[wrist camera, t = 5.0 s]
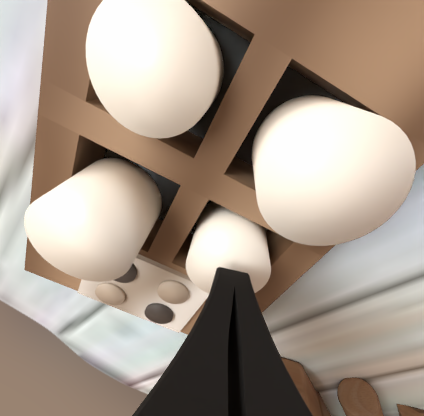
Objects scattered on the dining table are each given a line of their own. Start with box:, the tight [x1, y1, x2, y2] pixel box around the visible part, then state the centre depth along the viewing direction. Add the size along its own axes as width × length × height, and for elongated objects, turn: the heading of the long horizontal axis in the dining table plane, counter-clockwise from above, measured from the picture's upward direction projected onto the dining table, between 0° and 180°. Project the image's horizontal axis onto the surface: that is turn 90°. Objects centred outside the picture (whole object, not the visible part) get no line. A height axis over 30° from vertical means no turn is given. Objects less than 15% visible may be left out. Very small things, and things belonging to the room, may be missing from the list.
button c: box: [252, 95, 416, 246], centre depth 8 cm, size 4×4×4 cm
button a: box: [86, 0, 224, 138], centre depth 9 cm, size 4×4×4 cm
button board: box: [25, 0, 424, 334], centre depth 12 cm, size 14×20×4 cm
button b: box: [24, 158, 162, 282], centre depth 10 cm, size 4×4×4 cm
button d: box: [186, 202, 271, 294], centre depth 13 cm, size 4×4×4 cm
